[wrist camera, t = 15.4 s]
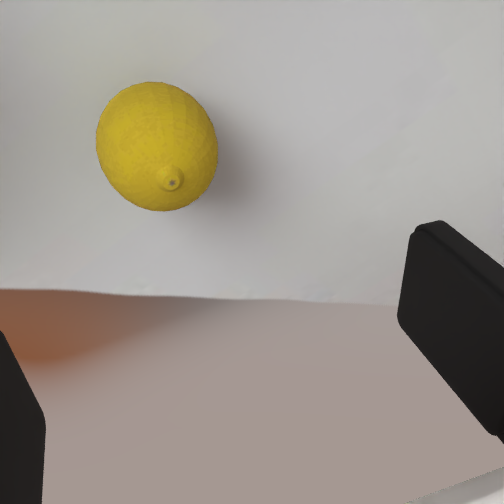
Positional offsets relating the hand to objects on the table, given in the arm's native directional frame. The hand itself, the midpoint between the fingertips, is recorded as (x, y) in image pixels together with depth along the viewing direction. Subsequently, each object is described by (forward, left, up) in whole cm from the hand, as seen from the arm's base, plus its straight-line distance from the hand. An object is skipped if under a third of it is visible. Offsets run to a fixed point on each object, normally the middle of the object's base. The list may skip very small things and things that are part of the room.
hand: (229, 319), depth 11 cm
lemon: (+1, 0, -18) cm, 18 cm away
